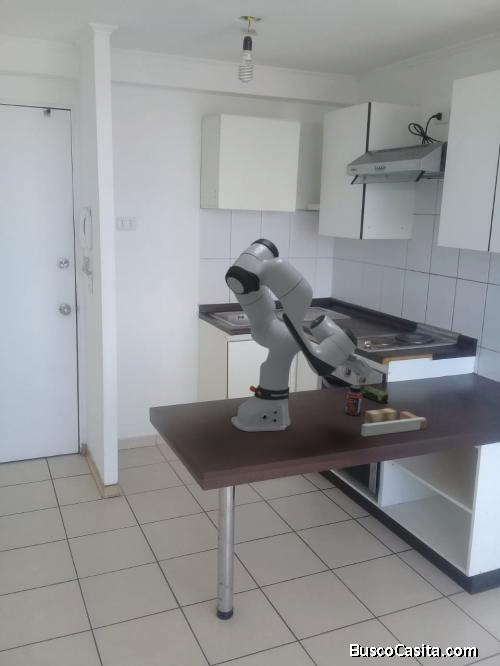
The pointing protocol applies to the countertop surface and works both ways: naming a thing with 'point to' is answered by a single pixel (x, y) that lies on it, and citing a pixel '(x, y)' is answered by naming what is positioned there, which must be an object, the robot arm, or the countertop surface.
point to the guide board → (395, 425)
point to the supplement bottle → (354, 401)
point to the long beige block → (380, 415)
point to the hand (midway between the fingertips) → (362, 375)
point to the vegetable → (375, 394)
